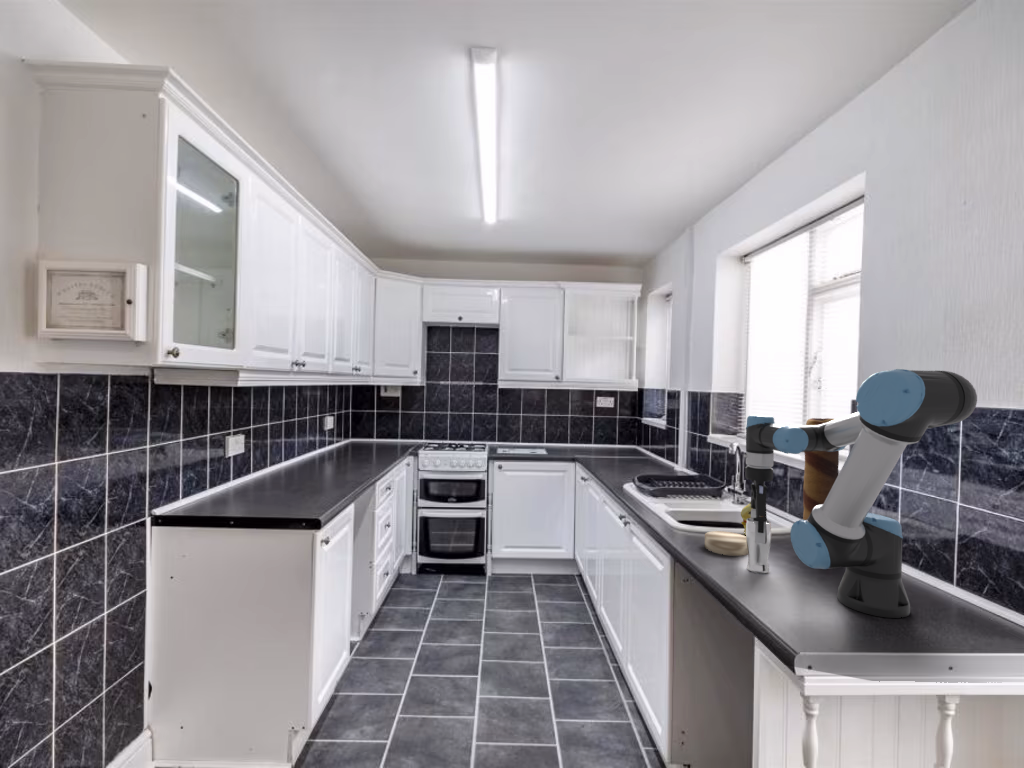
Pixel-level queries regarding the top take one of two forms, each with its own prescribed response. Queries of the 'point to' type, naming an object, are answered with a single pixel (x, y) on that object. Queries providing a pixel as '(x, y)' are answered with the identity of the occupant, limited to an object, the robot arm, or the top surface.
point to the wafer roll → (818, 473)
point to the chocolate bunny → (746, 515)
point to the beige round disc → (726, 543)
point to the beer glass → (757, 548)
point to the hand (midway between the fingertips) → (757, 536)
